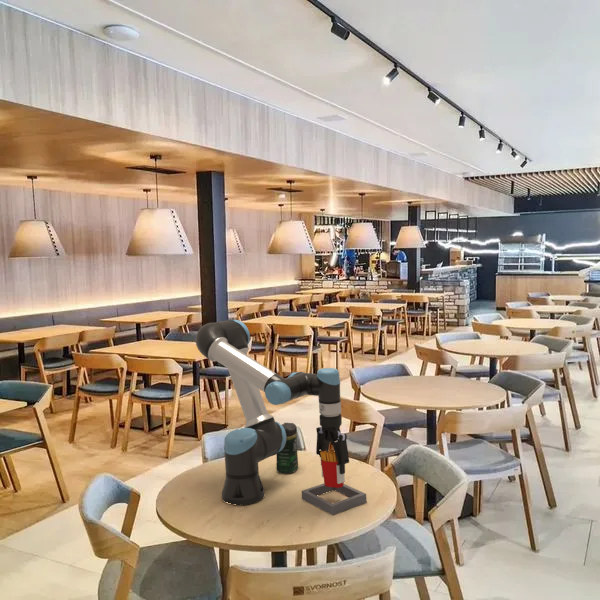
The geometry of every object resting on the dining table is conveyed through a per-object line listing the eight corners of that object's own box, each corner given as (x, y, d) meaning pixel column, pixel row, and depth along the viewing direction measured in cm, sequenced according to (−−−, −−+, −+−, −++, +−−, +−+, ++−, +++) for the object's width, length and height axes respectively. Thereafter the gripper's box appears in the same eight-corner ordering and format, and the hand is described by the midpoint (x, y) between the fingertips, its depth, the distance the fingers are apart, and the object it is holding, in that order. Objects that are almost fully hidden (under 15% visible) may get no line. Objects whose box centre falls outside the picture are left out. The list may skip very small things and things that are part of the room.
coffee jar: (293, 475, 226) (291, 428, 224) (274, 473, 228) (272, 427, 227) (301, 466, 235) (299, 421, 233) (282, 465, 237) (280, 420, 236)
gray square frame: (301, 499, 203) (301, 490, 202) (334, 487, 211) (334, 479, 211) (332, 515, 189) (332, 506, 189) (366, 502, 198) (366, 493, 197)
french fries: (346, 484, 200) (345, 450, 199) (343, 488, 196) (342, 453, 196) (323, 482, 203) (322, 448, 202) (319, 486, 199) (318, 451, 199)
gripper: (303, 410, 204) (306, 473, 206) (341, 422, 188) (344, 490, 189) (320, 406, 209) (323, 468, 210) (358, 417, 192) (361, 484, 193)
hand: (333, 479), depth 200 cm, fingers closed on french fries, 8 cm apart
